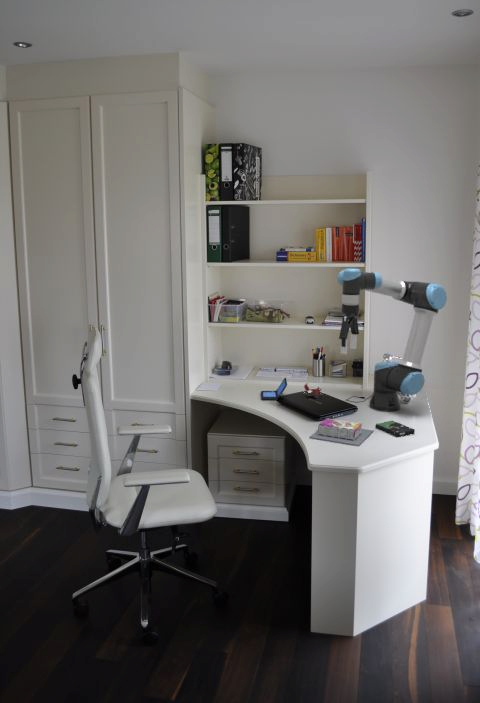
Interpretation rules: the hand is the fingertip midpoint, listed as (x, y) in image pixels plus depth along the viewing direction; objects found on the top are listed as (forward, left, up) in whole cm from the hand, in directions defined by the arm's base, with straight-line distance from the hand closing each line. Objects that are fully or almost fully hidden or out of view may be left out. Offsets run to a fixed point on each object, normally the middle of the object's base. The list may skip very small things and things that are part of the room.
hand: (348, 351), depth 302 cm
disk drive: (-3, +22, -35) cm, 42 cm away
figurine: (-38, -30, -35) cm, 60 cm away
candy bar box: (+15, -6, -32) cm, 36 cm away
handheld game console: (-30, -49, -35) cm, 67 cm away
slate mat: (+14, +3, -35) cm, 38 cm away
